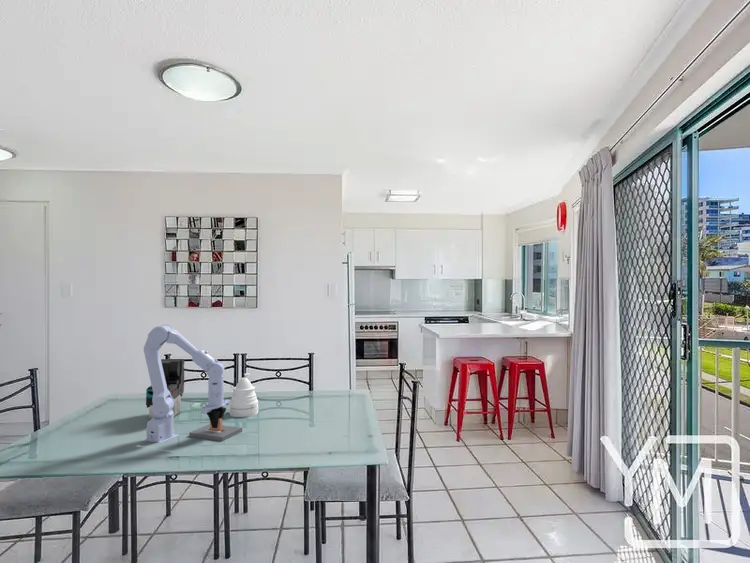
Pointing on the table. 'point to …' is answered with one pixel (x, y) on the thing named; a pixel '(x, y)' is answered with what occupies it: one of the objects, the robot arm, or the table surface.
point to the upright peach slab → (219, 428)
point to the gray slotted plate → (215, 433)
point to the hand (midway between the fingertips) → (216, 427)
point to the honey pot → (244, 399)
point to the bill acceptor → (170, 384)
